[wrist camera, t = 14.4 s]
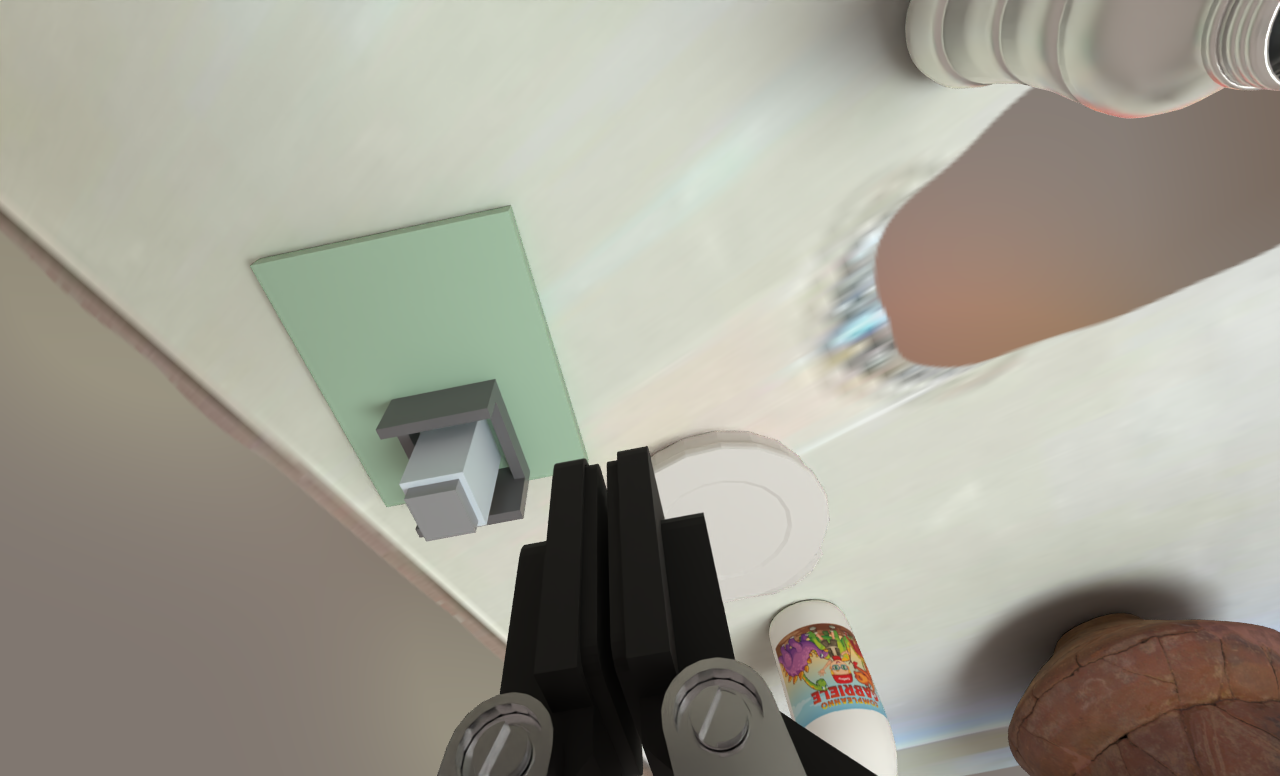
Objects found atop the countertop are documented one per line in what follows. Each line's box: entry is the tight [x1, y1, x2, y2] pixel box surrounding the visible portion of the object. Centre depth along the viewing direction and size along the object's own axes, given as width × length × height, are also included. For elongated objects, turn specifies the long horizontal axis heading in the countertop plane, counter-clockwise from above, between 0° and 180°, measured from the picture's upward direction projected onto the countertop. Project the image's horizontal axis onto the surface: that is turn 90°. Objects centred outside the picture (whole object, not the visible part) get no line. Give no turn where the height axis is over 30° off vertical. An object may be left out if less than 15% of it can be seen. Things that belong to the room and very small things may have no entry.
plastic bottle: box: [905, 0, 1280, 118], centre depth 24 cm, size 6×7×20 cm
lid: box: [651, 431, 830, 603], centre depth 50 cm, size 17×20×3 cm
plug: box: [399, 419, 501, 541], centre depth 40 cm, size 5×4×8 cm
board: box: [250, 206, 588, 507], centre depth 42 cm, size 20×16×1 cm
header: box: [376, 379, 530, 537], centre depth 42 cm, size 8×7×5 cm
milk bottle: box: [769, 600, 897, 776], centre depth 51 cm, size 8×8×20 cm
